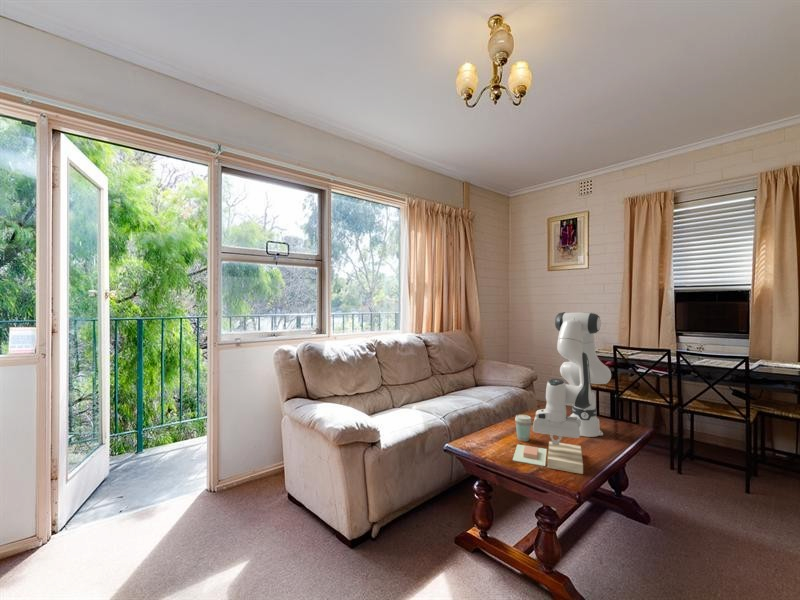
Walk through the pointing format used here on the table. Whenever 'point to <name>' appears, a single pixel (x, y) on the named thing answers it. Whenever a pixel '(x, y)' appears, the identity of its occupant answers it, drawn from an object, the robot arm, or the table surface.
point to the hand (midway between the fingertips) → (555, 444)
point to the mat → (539, 461)
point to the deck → (565, 457)
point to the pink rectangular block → (530, 452)
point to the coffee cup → (523, 427)
